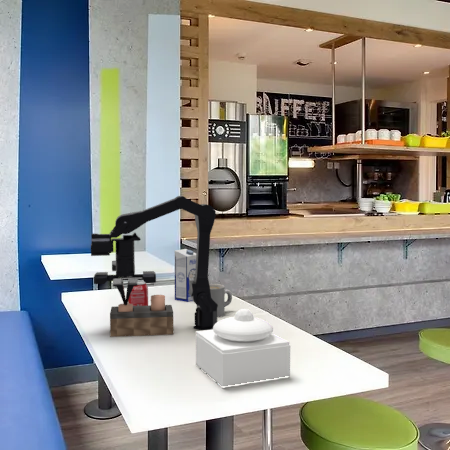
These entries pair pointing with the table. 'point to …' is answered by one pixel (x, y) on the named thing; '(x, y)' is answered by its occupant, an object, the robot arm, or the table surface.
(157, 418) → the table surface
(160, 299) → the peg
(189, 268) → the milk carton
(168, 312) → the block
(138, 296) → the soda can
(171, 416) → the table surface
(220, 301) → the coffee mug
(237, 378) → the white box with knob
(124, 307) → the peg
